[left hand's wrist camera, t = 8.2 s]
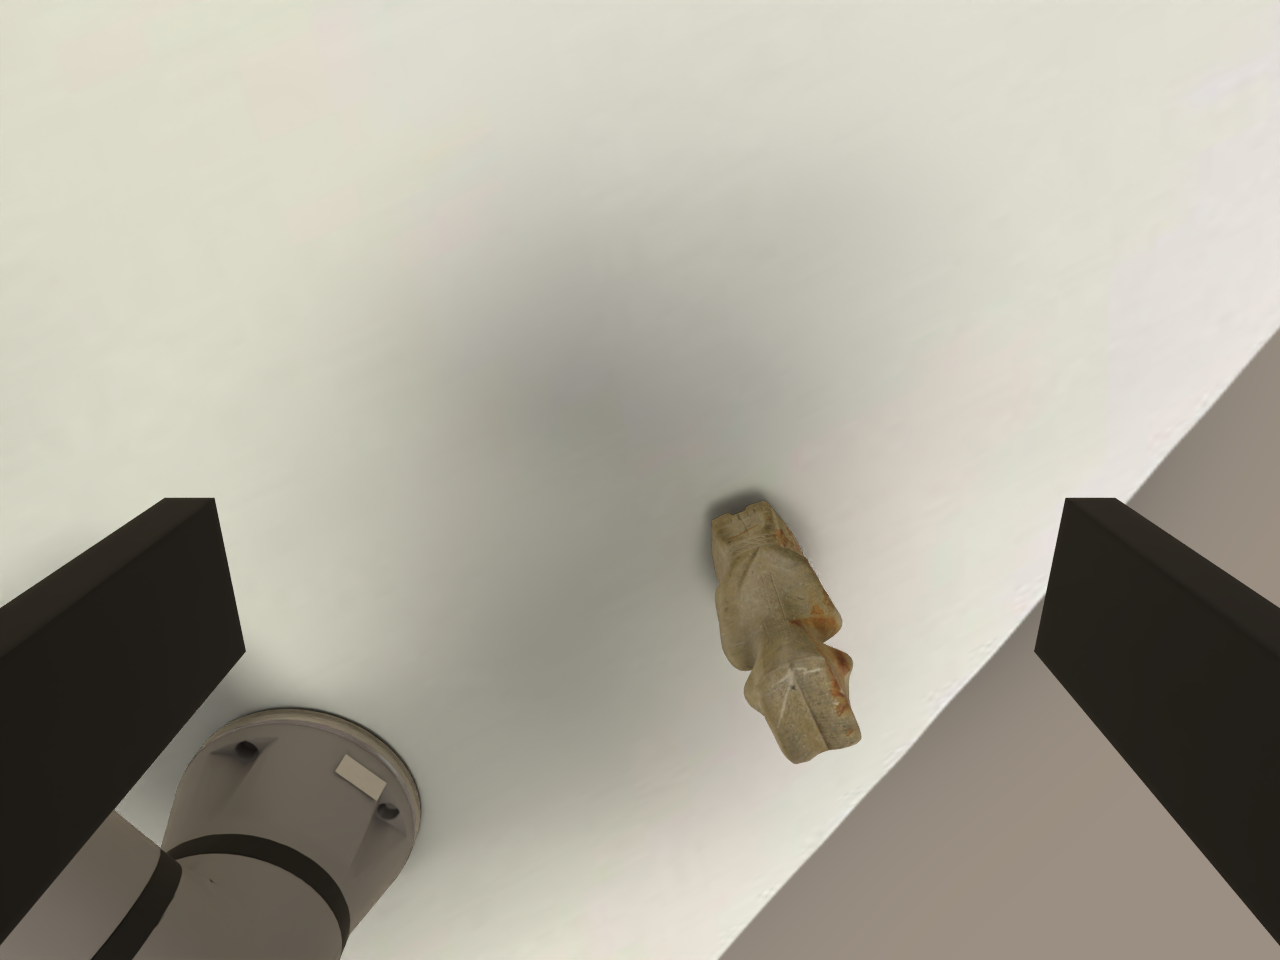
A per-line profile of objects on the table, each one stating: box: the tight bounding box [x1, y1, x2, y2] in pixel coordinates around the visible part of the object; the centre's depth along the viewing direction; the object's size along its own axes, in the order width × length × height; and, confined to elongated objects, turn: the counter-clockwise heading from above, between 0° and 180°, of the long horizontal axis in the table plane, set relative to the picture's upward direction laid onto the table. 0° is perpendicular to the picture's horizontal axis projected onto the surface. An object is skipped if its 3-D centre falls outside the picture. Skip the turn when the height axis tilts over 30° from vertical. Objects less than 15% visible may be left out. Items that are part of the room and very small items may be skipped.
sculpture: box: [712, 501, 861, 764], centre depth 39 cm, size 6×7×15 cm
